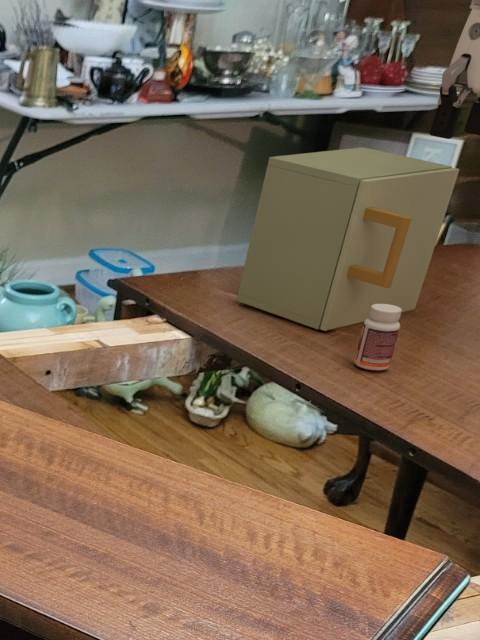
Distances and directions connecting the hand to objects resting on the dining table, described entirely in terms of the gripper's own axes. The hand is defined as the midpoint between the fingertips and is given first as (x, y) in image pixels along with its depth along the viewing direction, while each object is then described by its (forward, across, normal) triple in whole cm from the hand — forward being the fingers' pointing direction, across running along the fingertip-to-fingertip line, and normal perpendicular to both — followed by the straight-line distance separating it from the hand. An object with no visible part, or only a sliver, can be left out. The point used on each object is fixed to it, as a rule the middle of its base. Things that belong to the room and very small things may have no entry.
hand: (457, 135), depth 156 cm
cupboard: (+29, +2, +14) cm, 32 cm away
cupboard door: (+28, +1, +2) cm, 29 cm away
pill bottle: (+29, -18, -7) cm, 35 cm away
